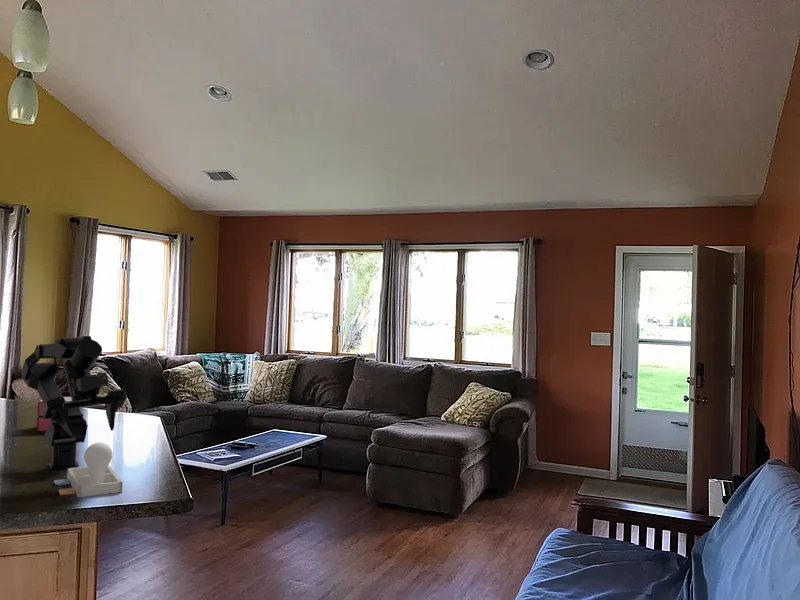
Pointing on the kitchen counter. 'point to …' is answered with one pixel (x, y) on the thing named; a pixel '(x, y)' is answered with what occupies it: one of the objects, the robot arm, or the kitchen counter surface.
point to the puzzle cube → (42, 422)
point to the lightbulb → (97, 461)
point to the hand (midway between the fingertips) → (93, 433)
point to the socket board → (89, 483)
